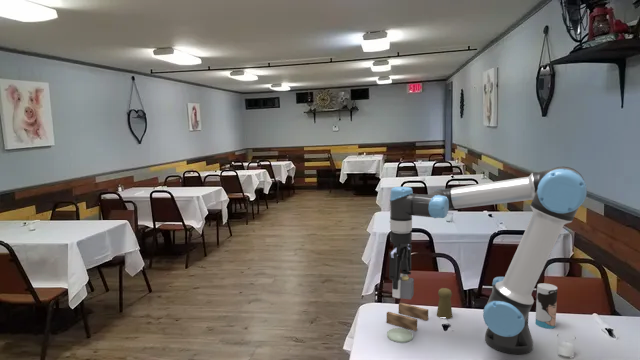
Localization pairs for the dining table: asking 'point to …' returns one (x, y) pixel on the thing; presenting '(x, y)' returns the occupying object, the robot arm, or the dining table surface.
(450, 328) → the dining table surface
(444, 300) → the cork
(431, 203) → the robot arm
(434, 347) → the dining table surface
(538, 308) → the cup
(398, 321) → the guide channel
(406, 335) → the saucer
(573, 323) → the dining table surface
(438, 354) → the dining table surface
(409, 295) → the plug
